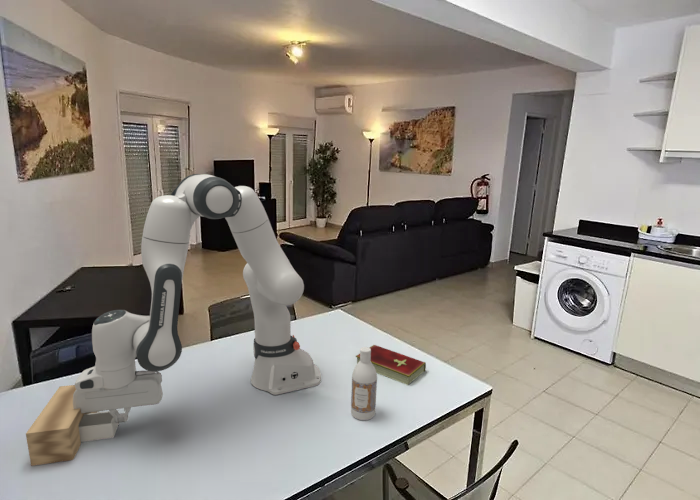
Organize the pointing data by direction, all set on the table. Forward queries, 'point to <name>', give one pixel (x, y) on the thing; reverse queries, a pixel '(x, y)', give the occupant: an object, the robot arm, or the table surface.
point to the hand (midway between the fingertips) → (122, 421)
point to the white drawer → (97, 426)
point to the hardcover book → (395, 364)
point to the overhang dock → (56, 430)
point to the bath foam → (364, 387)
